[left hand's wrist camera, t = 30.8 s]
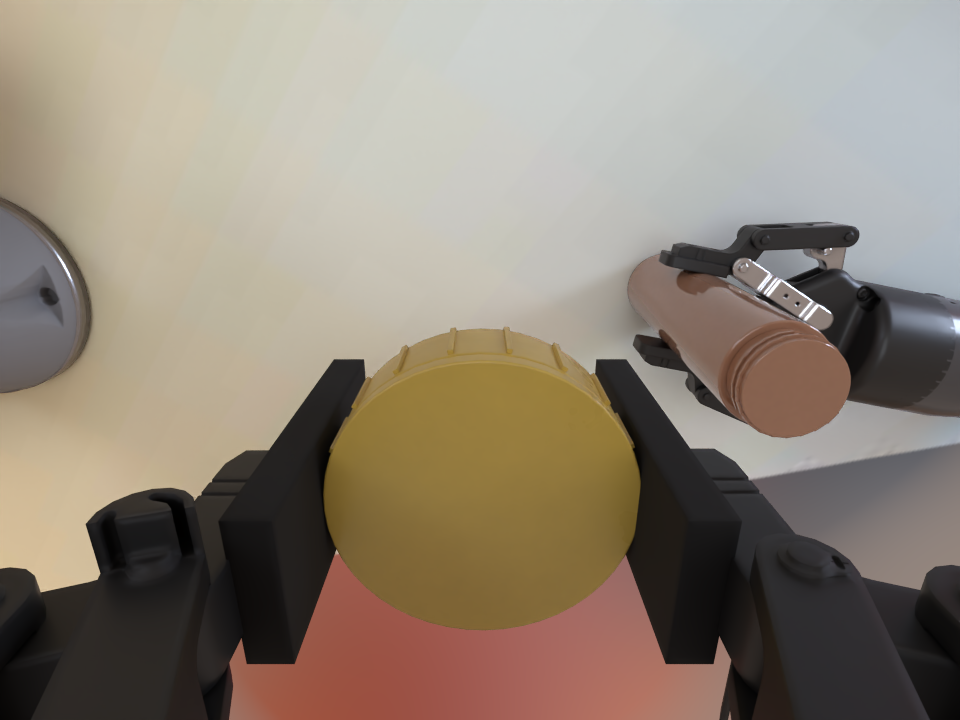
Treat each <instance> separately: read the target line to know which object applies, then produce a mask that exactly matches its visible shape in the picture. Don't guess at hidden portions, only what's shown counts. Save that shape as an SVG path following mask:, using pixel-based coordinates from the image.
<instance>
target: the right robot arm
mask: <svg viewBox="0 0 960 720" xmlns="http://www.w3.org/2000/svg"><path fill="white" fill-rule="evenodd" d="M858 239H859V231H858V229H857V228H856V227H853V226H848V225H843V224H837V223H832V222H810V223H784V224H759V225H745V226H743V227H741V228H740V230H739V231H738V233H737V239H736V240H735V242H734V243H733V244H732V245H731V246H730V247H729V248H727V249H725V250H717V249H712V248H707V247H702V246H697V245H691V244H686V243H678V244H673V247H672V250H671V252H670V251H665V250H662V251H661V254H660V257H659V262H660V263H662V264H664V265H666V266H669V267H673V268H678V269H683V270H688V271H693V272H698V273H703V274H709V275H713V276H718V277H723V278H727V276H728V275H731V276H732V277H734V278H735V279H737V280H738V281H740V282H741V283H742V284H743V285H745V286H746V287H748V288H749V289H751V290H752V291H754V292H755V293H757V294H758V295H760V296H757V295H756V297H757V298H759V299H761V300H763V301H765V302H767V303H769V304H771V305H773V306H774V307H776V308H778V309H780V310H782V311H784V312H786V313H788V314H790V315H792V316H794V317H796V318H797V319H799V320H801V321H803V322H805V323H807V324H809V325H811V326H813V327H814V328H816V329H817V330H819V331H820V332H821V333H822V334H823V335H824V336H825V337H826V339H827V340H828V341H829V342H830V343H831V344H832V345H834V346H835V347H836V348H837V349H838V350H839V352H840V353H841V355H842V356H843V357H844V359H845V360H846V362H847V364H848V367H849V370H850V376H851V384H850V390H849V394H848V397H847V399H846V400H849V401H854V402H860V403H865V404H870V405H875V406H880V407H886V408H891V409H896V410H901V411H907V412H912V413H918V414H923V415H930V416H945V417H959V418H960V301H958V300H953V299H948V298H945V297H943V296H940V295H937V294H929V293H925V294H923V293H918V292H913V291H908V290H903V289H898V288H893V287H888V286H883V285H878V284H873V283H868V282H862V281H857V280H854V279H853V278H852V277H851V276H850V275H849V274H848V273H847V272H845V271H843V270H842V268H843V263H844V257H845V252H846V247H850V246H852V245H854V244H855V243H856V242H857V241H858ZM788 249H803V252H804V254H805V255H806V256H808V257H811V258H814V259H817V261H818V263H819V267H816V268H814V269H812V270H809V271H807V272H804V273H802V274H800V275H797V276H795V277H792V278H790V279H788V280H785V281H783V280H781V279H780V278H778V277H776V276H774V275H773V274H771V273H769V272H768V271H766V270H765V269H764V268H762V267H761V266H759V265H758V264H756V263H755V261H756V260H757V259H758V257H759V256H760V255H761V253H762V252H763V251H764V250H788ZM633 346H634V347H635V349H636V350H637V351H638V352H639V354H640V355H641V357H642V358H643V359H644V361H646V362H647V363H649V364H650V365H653V366H660V367H664V368H669V369H675V370H680V371H685V372H688V378H687V379H686V383H685V384H686V387H687V388H688V389H689V391H691V392H692V393H693V394H694V395H695V397H696V399H697V400H698V401H699V402H700V403H701V404H703V405H705V406H707V407H709V408H712V409H714V410H716V411H719V412H721V413H723V414H726V415H728V416H730V417H732V418H735V419H737V420H739V421H742V420H740V419H738V418H737V417H735V416H734V415H733V414H732V413H730V412H729V411H728V409H727V408H726V407H725V406H724V405H723V404H722V403H721V402H720V401H719V400H718V399H717V398H716V397H715V396H714V394H713V393H712V392H711V391H710V390H709V389H708V388H707V387H706V386H705V385H704V384H703V383H702V382H701V380H700V379H699V378H698V377H697V376H696V375H695V374H694V373H693V372H692V371H691V370H690V369H689V368H688V367H687V365H686V364H685V363H684V362H683V361H682V360H681V359H680V358H679V357H678V356H677V355H676V354H675V353H674V351H673V350H672V349H671V348H670V347H669V346H668V345H667V344H666V343H665V342H664V341H663V340H662V339H660V338H655V337H650V336H644V335H636V336H635V339H634V342H633ZM742 422H744V421H742ZM744 423H746V424H748V423H747V422H744ZM748 425H749V424H748Z"/></svg>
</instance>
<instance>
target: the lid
mask: <svg viewBox="0 0 960 720" xmlns="http://www.w3.org/2000/svg"><path fill="white" fill-rule="evenodd" d="M610 404H611V403H610V401H609V399H608V397H607V395H606V393H605V391H604V389H603V387H602V386H601V384H600V382H599V380H598V378H597V376H596V375H595V374H594V373H593V374H592V375H590V374H589V373H588V372H587V371H586V370H585V369H584V368H583V367H582V366H581V365H580V364H578V363H577V362H576V361H575V360H574V359H572V358H571V357H570V356H569V355H567V354H565V353H564V352H562V351H561V349H560V347H559V345H558V344H556V343H554V344H553V345H550V344H548V343H546V342H543V341H541V340H539V339H537V338H533V337H530V336H527V335H524V334H520V333H516V332H510V329H509V327H504V329H503V330H497V329H469V330H459V331H456V328H451V329H450V332H449V333H445V334H440V335H438V336H435V337H432V338H429V339H426V340H423V341H421V342H419V343H417V344H415V345H413V346H411V347H409V348H408V347H407V345H405V346H403V347H402V349H401V351H400V353H399V354H398V355H396V356H395V357H394V358H392V359H391V360H390V361H388V362H387V363H386V364H385V365H384V366H383V367H382V368H381V369H380V370H378V371H377V373H376V374H375V375H374V376H373V377H372V379H371V378H370V377H367V378H366V380H365V381H364V383H363V385H362V387H361V389H360V391H359V393H358V395H357V397H356V399H355V401H354V403H353V405H352V408H353V409H352V411H351V413H350V415H349V417H346V418H345V420H344V422H343V424H342V426H341V428H340V429H339V431H338V433H337V435H336V437H335V439H334V441H333V443H332V445H331V447H330V450H329V452H330V453H331V455H330V457H329V461H328V465H327V468H326V472H325V478H324V489H323V499H324V512H325V516H326V521H327V526H328V529H329V532H330V535H331V537H332V540H333V543H334V545H335V547H336V549H337V551H338V552H339V554H340V556H341V558H342V560H343V561H344V562H345V564H346V565H347V567H348V568H349V569H350V571H351V572H352V573H353V575H354V576H355V577H356V578H357V579H358V580H359V581H360V582H361V583H362V584H363V585H364V586H365V587H366V588H367V589H369V590H370V591H371V592H372V593H374V594H375V595H376V596H377V597H379V598H380V599H381V600H383V601H385V602H386V603H388V604H389V605H391V606H392V607H394V608H396V609H398V610H400V611H402V612H404V613H406V614H408V615H410V616H412V617H415V618H418V619H421V620H424V621H426V622H429V623H434V624H437V625H442V626H446V627H451V628H459V629H466V630H496V629H507V628H513V627H519V626H524V625H528V624H531V623H535V622H539V621H542V620H544V619H547V618H549V617H552V616H554V615H557V614H559V613H561V612H563V611H565V610H567V609H569V608H571V607H573V606H574V605H576V604H577V603H579V602H580V601H582V600H583V599H585V598H586V597H588V596H589V595H590V594H591V593H593V592H594V591H595V590H596V589H597V588H598V587H600V586H601V585H602V584H603V583H604V582H605V581H606V580H607V579H608V577H609V576H610V575H611V574H612V573H613V572H614V571H615V569H616V568H617V567H618V565H619V564H620V562H621V561H622V559H623V558H624V556H625V555H626V553H627V551H628V549H629V547H630V545H631V543H632V541H633V538H634V535H635V528H636V520H637V512H638V503H639V495H640V485H641V478H640V470H639V467H638V464H637V460H636V457H635V454H634V451H633V448H635V446H634V443H633V441H632V439H631V437H630V436H629V434H628V432H627V430H626V428H625V426H624V424H623V422H622V421H621V419H620V417H619V415H618V413H614V411H613V410H612V408H611V406H610Z"/></svg>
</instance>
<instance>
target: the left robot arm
mask: <svg viewBox="0 0 960 720" xmlns="http://www.w3.org/2000/svg"><path fill="white" fill-rule="evenodd" d="M89 327H90V305H89V299H88V295H87V291H86V287H85V284H84V281H83V279H82V276H81V274H80V272H79V270H78V268H77V266H76V264H75V262H74V261H73V259H72V257H71V256H70V254H69V253H68V251H67V250H66V249H65V247H64V246H63V245H62V243H61V242H60V241H59V240H58V239H57V238H56V236H55V235H54V234H53V233H52V232H51V231H50V230H49V229H48V228H47V227H46V226H45V225H43V224H42V223H41V222H40V221H39V220H37V219H36V218H35V217H34V216H32V215H31V214H29V213H28V212H26V211H25V210H23V209H22V208H20V207H18V206H17V205H15V204H13V203H11V202H9V201H7V200H5V199H2V198H0V393H8V392H15V391H19V390H23V389H27V388H30V387H34V386H36V385H39V384H41V383H43V382H45V381H47V380H49V379H51V378H53V377H55V376H57V375H59V374H61V373H62V372H64V371H65V370H66V369H68V368H69V367H70V366H71V365H72V364H73V363H74V362H75V360H76V359H77V358H78V357H79V355H80V353H81V352H82V350H83V348H84V346H85V343H86V340H87V337H88V333H89ZM595 375H596V376H597V378H598V380H599V382H600V384H601V386H602V387H603V389H604V391H605V393H606V395H607V397H608V399H609V401H610V403H611V404H610V406H611V408H612V410H613V411H614V413H618V415H619V417H620V419H621V421H622V422H623V424H624V426H625V428H626V430H627V432H628V434H629V436H630V437H631V439H632V441H633V443H634V446H635V448H633V451H634V454H635V457H636V460H637V464H638V467H639V470H640V478H641V485H640V495H639V503H638V512H637V520H636V528H635V535H634V538H633V541H632V543H631V545H630V547H629V549H628V551H627V553H626V556H627V559H628V562H629V564H630V567H631V570H632V573H633V575H634V578H635V581H636V584H637V586H638V589H639V592H640V595H641V597H642V600H643V603H644V605H645V608H646V611H647V614H648V616H649V619H650V622H651V625H652V627H653V630H654V633H655V636H656V638H657V641H658V644H659V647H660V649H661V652H662V655H663V658H664V660H665V663H666V664H714V659H715V654H716V649H717V644H718V639H719V636H720V638H721V640H722V642H723V644H724V646H725V648H726V650H727V652H728V654H729V656H730V658H731V665H730V669H729V674H728V678H727V683H726V688H725V692H724V697H723V702H722V706H721V712H720V719H719V720H728V716H729V712H730V713H731V720H960V566H955V565H947V566H938V567H934V568H933V569H932V570H930V571H929V572H928V573H927V574H926V577H925V579H924V582H923V585H922V588H921V590H917V589H912V588H908V587H903V586H898V585H893V584H889V583H884V582H879V581H875V580H871V579H867V578H863V577H861V575H860V573H859V571H858V570H857V569H856V568H855V566H854V565H853V564H852V562H851V561H850V560H849V559H848V558H846V557H845V556H844V555H842V554H841V553H840V552H838V551H837V550H836V549H834V548H832V547H830V546H828V545H826V544H824V543H822V542H819V541H817V540H815V539H811V538H808V537H804V536H800V535H797V534H795V533H794V532H793V530H792V529H791V528H790V527H789V526H788V524H787V523H786V522H785V521H784V520H783V518H782V517H781V516H780V515H779V514H778V512H777V511H776V510H775V509H774V508H773V506H772V505H771V504H770V503H769V502H768V500H767V499H766V498H765V497H764V496H763V494H759V490H758V488H757V487H756V486H755V485H754V484H753V483H752V481H749V480H748V476H747V475H746V474H745V473H744V472H743V470H742V469H741V468H740V467H739V466H738V464H737V463H736V462H735V461H733V460H731V459H730V458H728V457H727V456H725V455H723V454H722V453H720V452H719V451H717V450H715V449H690V448H689V446H688V445H687V443H686V442H685V441H684V439H683V438H682V436H681V435H680V434H679V432H678V431H677V429H676V428H675V427H674V425H673V424H672V423H671V421H670V420H669V418H668V417H667V416H666V414H665V413H664V411H663V410H662V409H661V407H660V406H659V404H658V403H657V402H656V400H655V399H654V397H653V396H652V395H651V393H650V392H649V391H648V389H647V388H646V386H645V385H644V384H643V382H642V381H641V379H640V378H639V377H638V375H637V374H636V372H635V371H634V370H633V368H632V367H631V365H630V364H629V363H628V361H627V360H626V359H596V371H595ZM365 380H366V379H365V367H364V359H334V360H333V362H332V363H331V365H330V366H329V367H328V369H327V370H326V372H325V373H324V374H323V376H322V377H321V378H320V380H319V381H318V383H317V384H316V385H315V387H314V388H313V390H312V391H311V392H310V394H309V395H308V397H307V398H306V399H305V401H304V402H303V404H302V405H301V406H300V408H299V409H298V411H297V412H296V413H295V415H294V416H293V417H292V419H291V420H290V422H289V423H288V424H287V426H286V427H285V429H284V430H283V431H282V433H281V434H280V436H279V437H278V438H277V440H276V441H275V443H274V444H273V445H272V447H271V448H270V450H269V451H245V452H243V453H242V454H240V455H238V456H237V457H235V458H234V459H232V460H231V461H229V462H227V463H226V464H225V465H224V466H223V467H222V468H221V470H220V471H219V472H218V473H217V474H216V476H215V477H214V478H213V479H212V483H209V484H208V485H207V486H206V488H205V489H204V490H203V491H202V495H201V496H198V497H197V499H196V500H195V501H194V498H193V497H192V496H191V495H190V494H189V493H187V492H186V491H184V490H179V489H174V488H161V489H151V490H146V491H142V492H138V493H134V494H131V495H128V496H126V497H123V498H121V499H119V500H116V501H114V502H112V503H110V504H109V505H107V506H106V507H104V508H102V509H101V510H99V511H98V512H96V513H95V514H94V516H93V517H92V518H91V519H90V520H89V521H88V522H87V523H86V527H87V530H88V533H89V537H90V540H91V543H92V547H93V550H94V553H95V557H96V560H97V563H98V566H99V570H100V573H101V574H100V576H99V578H98V580H95V581H92V582H88V583H83V584H78V585H74V586H69V587H64V588H60V589H55V590H50V591H46V592H40V589H39V586H38V584H37V581H36V578H35V576H34V575H33V574H32V573H30V572H29V571H28V570H26V569H20V568H11V567H10V568H3V569H0V720H229V714H230V706H231V699H232V691H233V682H232V674H231V669H230V665H229V662H230V660H231V658H232V656H233V654H234V652H235V650H236V648H237V646H238V644H239V642H240V640H241V638H242V642H243V647H244V652H245V657H246V662H247V664H295V661H296V658H297V656H298V653H299V650H300V648H301V645H302V642H303V639H304V637H305V634H306V631H307V628H308V626H309V623H310V620H311V617H312V615H313V612H314V609H315V606H316V604H317V601H318V598H319V595H320V593H321V590H322V587H323V585H324V582H325V579H326V576H327V574H328V571H329V568H330V565H331V563H332V560H333V557H334V554H335V552H336V547H335V545H334V543H333V540H332V537H331V535H330V532H329V529H328V526H327V521H326V516H325V512H324V499H323V489H324V478H325V472H326V468H327V465H328V461H329V457H330V455H331V453H330V452H329V450H330V447H331V445H332V443H333V441H334V439H335V437H336V435H337V433H338V431H339V429H340V428H341V426H342V424H343V422H344V420H345V418H346V417H349V415H350V413H351V411H352V409H353V408H352V405H353V403H354V401H355V399H356V397H357V395H358V393H359V391H360V389H361V387H362V385H363V383H364V381H365Z"/></svg>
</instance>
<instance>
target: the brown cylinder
mask: <svg viewBox="0 0 960 720" xmlns="http://www.w3.org/2000/svg"><path fill="white" fill-rule="evenodd" d="M659 257H660V254H659V255H655V256H652V257H650V258H648V259H646V260H644V261H643V262H642V263H640V264H639V265H638V266H637V267H636V269H635V270H634V271H633V273H632V275H631V277H630V280H629V283H628V298H629V301H630V303H631V305H632V307H633V308H634V309H635V311H636V312H637V313H638V314H639V315H640V316H641V317H642V318H643V319H644V320H645V321H646V322H647V324H648V325H649V326H650V327H651V328H652V329H653V330H654V331H655V332H656V333H657V334H658V335H659V336H660V338H661V339H662V340H663V341H664V342H665V343H666V344H667V345H668V346H669V347H670V348H671V349H672V350H673V351H674V353H675V354H676V355H677V356H678V357H679V358H680V359H681V360H682V361H683V362H684V363H685V364H686V365H687V367H688V368H689V369H690V370H691V371H692V372H693V373H694V374H695V375H696V376H697V377H698V378H699V379H700V380H701V382H702V383H703V384H704V385H705V386H706V387H707V388H708V389H709V390H710V391H711V392H712V393H713V394H714V396H715V397H716V398H717V399H718V400H719V401H720V402H721V403H722V404H723V405H724V406H725V407H726V408H727V409H728V411H729V412H730V413H732V414H733V415H734V416H735V417H737V418H738V419H740V420H742V421H744V422H747V423H748V424H749V425H750V426H751V427H753V428H754V429H756V430H757V431H758V432H760V433H763V434H766V435H769V436H771V437H782V438H790V437H797V436H803V435H805V434H808V433H811V432H813V431H816V430H818V429H819V428H821V427H823V426H824V425H826V424H827V423H829V422H830V421H831V420H832V419H833V418H834V417H835V416H836V415H837V414H838V413H839V411H840V409H841V408H842V406H843V405H844V403H845V401H846V399H847V397H848V394H849V390H850V384H851V376H850V370H849V367H848V364H847V362H846V360H845V359H844V357H843V356H842V355H841V353H840V352H839V350H838V349H837V348H836V347H835V346H834V345H832V344H831V343H830V342H829V341H828V340H827V339H826V337H825V336H824V335H823V334H822V333H821V332H820V331H819V330H817V329H816V328H814V327H813V326H811V325H809V324H807V323H805V322H803V321H801V320H799V319H797V318H796V317H794V316H792V315H790V314H788V313H786V312H784V311H782V310H780V309H778V308H776V307H774V306H773V305H771V304H769V303H767V302H765V301H763V300H761V299H759V298H757V297H755V296H753V295H751V294H750V293H748V292H746V291H744V290H742V289H740V288H738V287H736V286H734V285H732V284H730V283H729V282H727V281H725V280H723V279H721V278H719V277H717V276H713V275H709V274H703V273H698V272H693V271H688V270H683V269H678V268H673V267H669V266H666V265H664V264H662V263H660V262H659Z"/></svg>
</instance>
